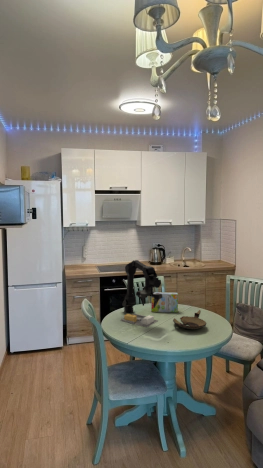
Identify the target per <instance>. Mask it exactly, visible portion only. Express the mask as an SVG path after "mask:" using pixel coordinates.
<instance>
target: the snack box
mask: <svg viewBox="0 0 263 468" xmlns="http://www.w3.org/2000/svg"><path fill="white" fill-rule="evenodd" d="M153 292H154V293H153V294H156V293H160V294H162V298H161V299H159V300H158V302H157V305H156V307H155V308H154V300H153V299H154V297H152V296H150V297H151V301H150V302H151V303H150V304H151V305H150V307H151V308H150V309H151V312H152V313H153V312H155V313H156V312H157V313H179V293H178V292H160V291H159V292H158V291H156V292H155V291H153Z"/></svg>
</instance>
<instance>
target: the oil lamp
mask: <svg viewBox="0 0 263 468" xmlns="http://www.w3.org/2000/svg"><path fill="white" fill-rule="evenodd" d="M201 311H202V310H200V309H199V310H197V312H194V315H193V316H188V315H187V316H184V315H183V316H181V317H179V319H180V321H179V320H177V318H172V322H173V323H174V324H175V325H177V326H179V327H181V328H184V329H187V330H197V329H201V328H203V327H206V326H207V322H206V320H203V319H202V318H200V315H201Z"/></svg>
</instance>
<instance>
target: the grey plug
mask: <svg viewBox="0 0 263 468" xmlns="http://www.w3.org/2000/svg"><path fill="white" fill-rule="evenodd" d="M145 316H146V317H144V318H143V324H146V325H149V324H150V323H152V322H154V320H155V319H154V318H155V316H154V315H145Z"/></svg>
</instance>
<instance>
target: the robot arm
mask: <svg viewBox="0 0 263 468" xmlns="http://www.w3.org/2000/svg"><path fill="white" fill-rule="evenodd" d="M137 269H138V270H140V271H141V272H142V274H143V275H144V276H143V278H144V287H143V289H142V290H140V289H139V290H138V291H136V292H135V294H134V283H135V282H134V280H135V277H134V276H135V274H136V273H137ZM124 271H125V274H126V276H127V277H126V278H127V280H126V281H127V282H126V294H125V296H124V300H123V301H122V303H121V305H122V307H123V311H124V313H126V314H132V313H133V314H134V307H135V305H136V301H137V300H136V298H137V297H138V298H139V299H140V301H141V305H142V306H145V301H146V299H147V298H148V297H151V296H152V297H154V299H153V300H154V308H155V307H156V305H157V302H158V300H159V299H161V298H162V294H160V293H156V294H153V293H154V292H155V291H154V288H156V289H157V288H160V287H161V284H162V282H161V280H160V279H159V277H158V274H157V271H156V270H155V268H154V266H150V265H146V264H144V263H143V262H141V261H139V260H138V259H135V260H131V262H129V263H127V264H126V265H125V267H124Z"/></svg>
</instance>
